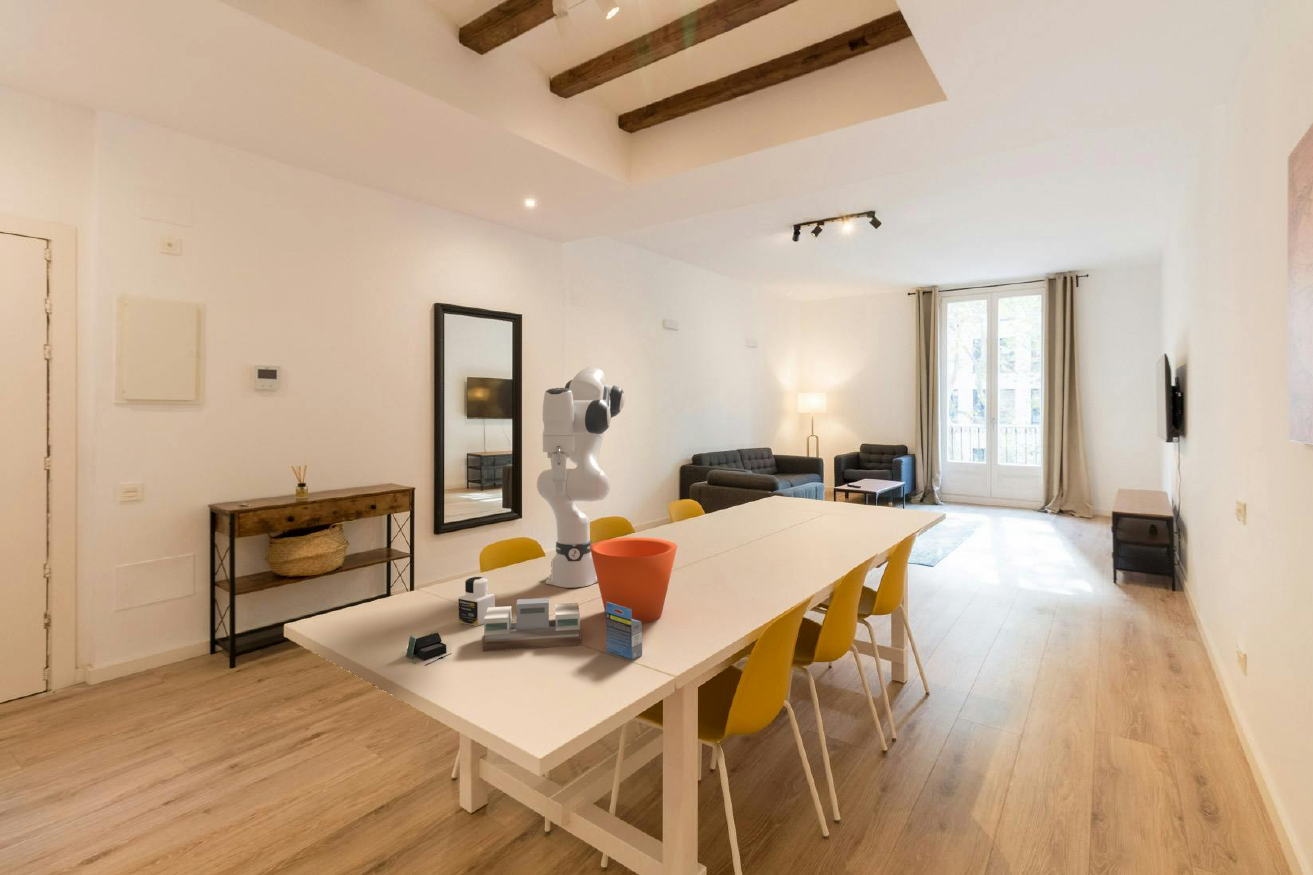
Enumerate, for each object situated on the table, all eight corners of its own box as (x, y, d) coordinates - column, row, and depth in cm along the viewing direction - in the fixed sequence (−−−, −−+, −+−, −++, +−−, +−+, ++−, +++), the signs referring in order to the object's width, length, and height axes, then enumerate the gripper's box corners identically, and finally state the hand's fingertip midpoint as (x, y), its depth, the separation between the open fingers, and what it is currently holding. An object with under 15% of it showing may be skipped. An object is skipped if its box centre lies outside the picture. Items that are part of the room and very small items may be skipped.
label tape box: (643, 655, 149) (643, 605, 148) (631, 660, 145) (631, 609, 145) (616, 646, 154) (616, 597, 154) (605, 651, 151) (604, 601, 151)
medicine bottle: (458, 622, 172) (457, 579, 171) (476, 614, 178) (476, 573, 178) (477, 626, 168) (476, 583, 168) (495, 618, 175) (495, 576, 174)
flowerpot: (668, 632, 164) (668, 558, 163) (578, 626, 169) (577, 554, 168) (683, 603, 188) (683, 539, 187) (604, 598, 193) (604, 536, 192)
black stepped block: (440, 639, 160) (440, 618, 160) (474, 654, 151) (474, 632, 151) (384, 657, 149) (383, 635, 148) (416, 674, 139) (416, 650, 139)
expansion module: (517, 629, 160) (517, 599, 159) (548, 628, 161) (548, 597, 161) (516, 635, 156) (516, 604, 155) (548, 634, 157) (548, 602, 157)
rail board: (487, 633, 163) (487, 605, 163) (579, 628, 167) (579, 600, 167) (482, 651, 151) (482, 621, 151) (581, 644, 155) (581, 615, 155)
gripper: (570, 447, 164) (571, 499, 165) (569, 443, 184) (569, 489, 185) (546, 447, 163) (547, 500, 164) (547, 443, 183) (548, 490, 184)
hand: (559, 494), depth 174 cm, fingers open, 8 cm apart
